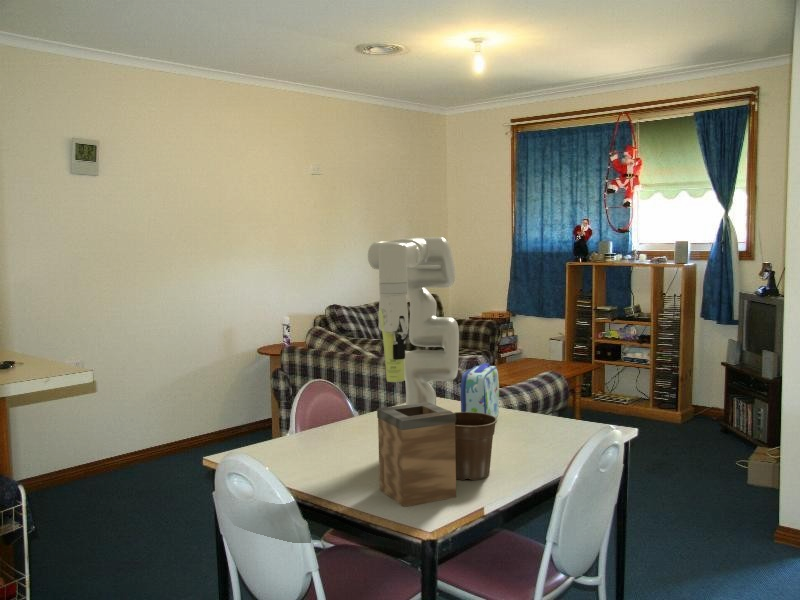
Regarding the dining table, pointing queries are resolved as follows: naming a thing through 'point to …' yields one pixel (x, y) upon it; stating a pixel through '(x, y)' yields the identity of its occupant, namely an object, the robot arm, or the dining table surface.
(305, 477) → the dining table surface
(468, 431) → the plant pot
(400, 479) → the socket
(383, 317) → the robot arm
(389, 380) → the tube
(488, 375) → the lunch box
